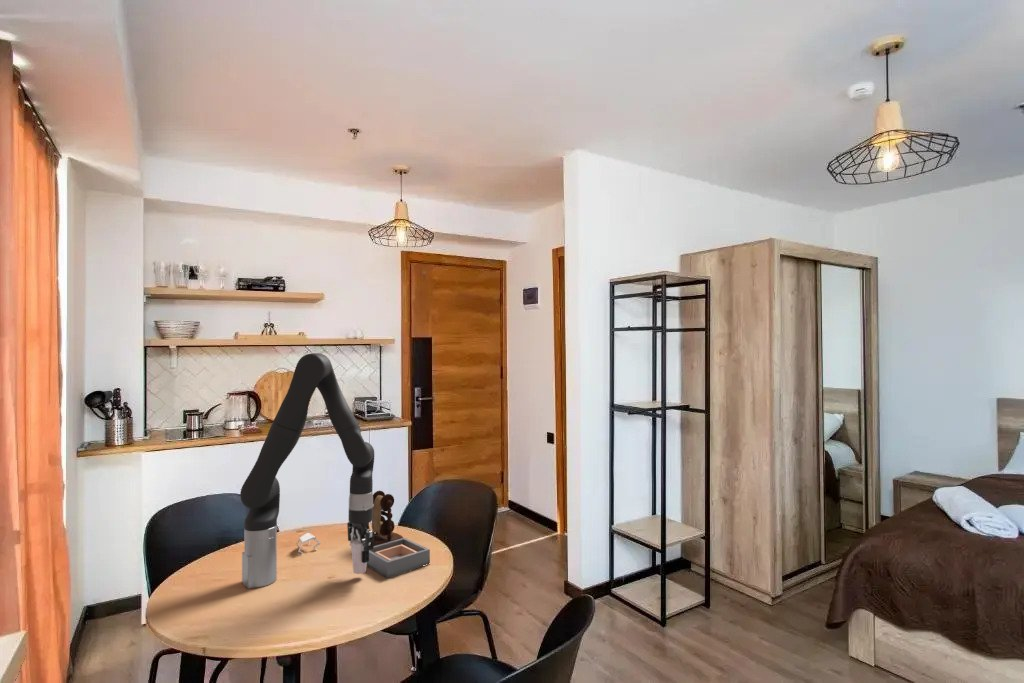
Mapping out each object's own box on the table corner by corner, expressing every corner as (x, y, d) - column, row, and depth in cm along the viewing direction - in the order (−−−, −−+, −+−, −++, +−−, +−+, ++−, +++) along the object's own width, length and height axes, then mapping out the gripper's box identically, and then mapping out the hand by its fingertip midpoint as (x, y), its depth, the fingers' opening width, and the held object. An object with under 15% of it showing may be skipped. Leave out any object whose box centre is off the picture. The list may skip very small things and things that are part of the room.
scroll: (355, 546, 196) (355, 492, 196) (390, 536, 206) (390, 485, 206) (374, 557, 185) (374, 500, 185) (410, 547, 195) (410, 492, 195)
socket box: (387, 578, 167) (387, 562, 167) (363, 564, 179) (363, 549, 179) (429, 564, 178) (429, 549, 178) (404, 551, 190) (404, 537, 190)
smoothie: (372, 567, 171) (372, 523, 171) (367, 575, 165) (368, 530, 165) (352, 567, 171) (353, 523, 171) (346, 575, 164) (347, 530, 165)
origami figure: (321, 553, 189) (321, 539, 190) (296, 557, 186) (296, 543, 186) (318, 542, 200) (318, 529, 200) (295, 546, 197) (295, 532, 197)
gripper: (339, 503, 171) (338, 555, 170) (360, 513, 160) (360, 569, 160) (361, 499, 176) (360, 549, 176) (382, 508, 165) (382, 562, 165)
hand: (360, 558), depth 168 cm, fingers closed on smoothie, 6 cm apart
